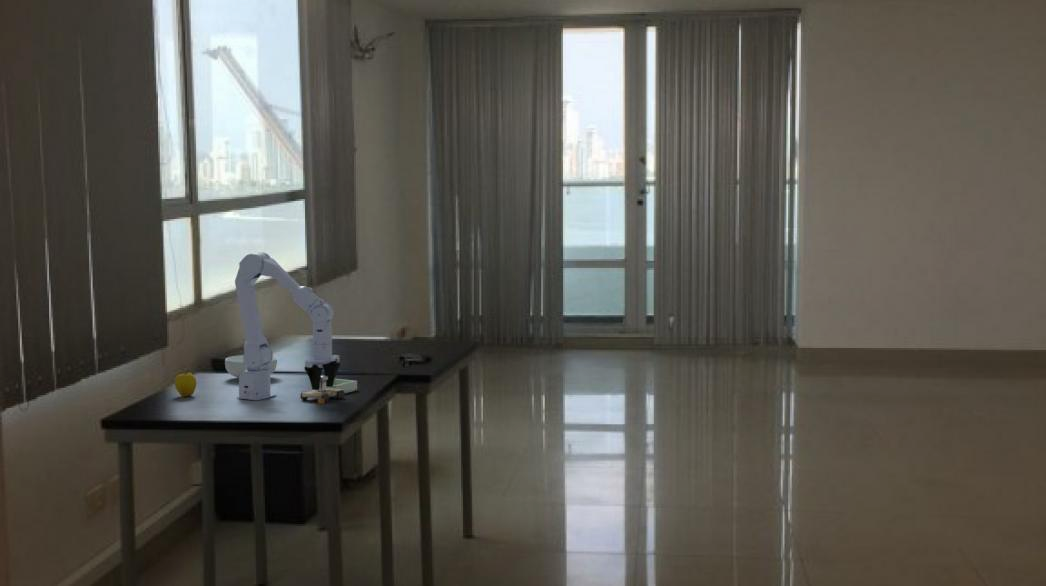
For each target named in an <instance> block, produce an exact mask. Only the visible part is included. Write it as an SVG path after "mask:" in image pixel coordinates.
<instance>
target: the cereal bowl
mask: <svg viewBox="0 0 1046 586" xmlns="http://www.w3.org/2000/svg"><path fill="white" fill-rule="evenodd" d="M243 356H244V354H243V355H242V354H241V355H233V356H228V357H226V358H224V359H225V360H224V366H225V370H226V371H227V372H228V374H229V375H231V376H232V377H235V378H237V379H239V376H240V374H241V373H242V372H244V371H245V370H246V365H245V363H244V361H243ZM277 362H278V359H277V357H274V356H273V358H272V360H271V362H270V363H269V365H270V376H271V375H272V374H274V372H275V371H276V369H277V365H278V363H277Z"/></svg>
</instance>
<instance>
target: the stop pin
mask: <svg viewBox="0 0 1046 586" xmlns="http://www.w3.org/2000/svg"><path fill="white" fill-rule="evenodd" d="M326 380H328V376H325V375H321V378H320V388H319V392H326Z"/></svg>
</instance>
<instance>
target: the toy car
mask: <svg viewBox="0 0 1046 586" xmlns="http://www.w3.org/2000/svg"><path fill="white" fill-rule="evenodd" d="M345 394H346V393H344V391H343V389H334V388H326V392H319V390H308V391H302V392H301V393H300V399H301V400H302V401H307V400H308V399H309V398H312V399H317V404H319V405H322V404H325V403H327V404H328V402H329V400H330V397H334V396H336V397H337V399H342V400H343V399H344V397H345Z"/></svg>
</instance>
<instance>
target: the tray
mask: <svg viewBox="0 0 1046 586" xmlns="http://www.w3.org/2000/svg"><path fill="white" fill-rule="evenodd" d="M326 388H334V389H343V391H344V393H345V394H347V393H348V394H349V393H350V392H351V393H352V392H355V390H356V391H358V380H351V379H343V378H341V379H340V378H335V379H334V384H333V387H328V386H326Z"/></svg>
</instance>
